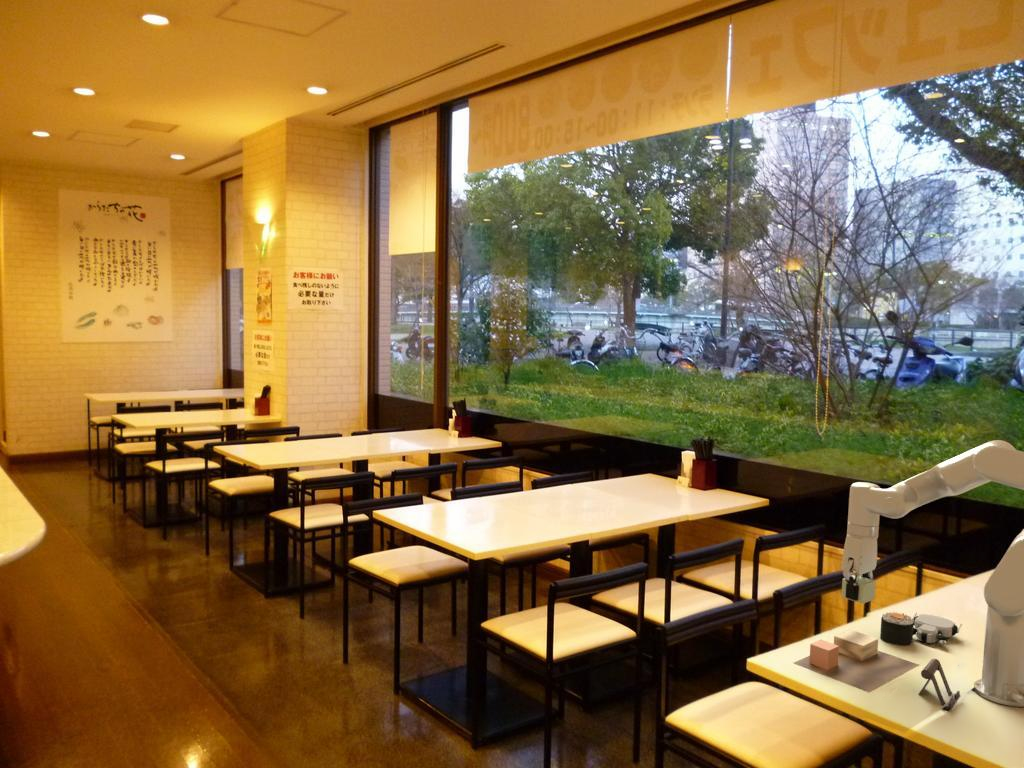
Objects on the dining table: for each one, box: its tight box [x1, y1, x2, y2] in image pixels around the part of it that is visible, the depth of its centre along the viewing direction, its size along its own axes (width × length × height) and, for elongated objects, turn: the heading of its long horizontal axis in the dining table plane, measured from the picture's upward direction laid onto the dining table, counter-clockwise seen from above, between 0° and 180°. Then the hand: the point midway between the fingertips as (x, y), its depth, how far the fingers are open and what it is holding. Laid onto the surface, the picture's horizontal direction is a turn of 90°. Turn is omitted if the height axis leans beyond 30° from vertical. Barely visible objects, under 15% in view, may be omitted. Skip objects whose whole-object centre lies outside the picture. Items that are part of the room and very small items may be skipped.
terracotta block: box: [809, 639, 839, 670], centre depth 206 cm, size 5×5×5 cm
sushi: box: [879, 611, 914, 647], centre depth 223 cm, size 8×8×8 cm
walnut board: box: [793, 650, 920, 693], centre depth 207 cm, size 20×26×1 cm
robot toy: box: [912, 612, 963, 645], centre depth 228 cm, size 12×4×15 cm
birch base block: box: [833, 628, 879, 661], centre depth 214 cm, size 8×8×4 cm
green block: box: [840, 575, 877, 605], centre depth 213 cm, size 6×6×5 cm
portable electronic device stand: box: [918, 658, 961, 712], centre depth 190 cm, size 9×8×8 cm
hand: (858, 596), depth 213 cm, fingers closed on green block, 6 cm apart
